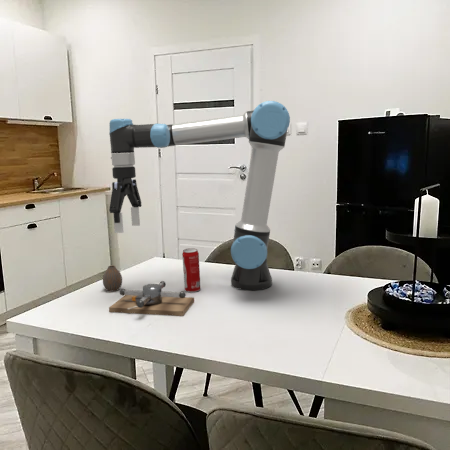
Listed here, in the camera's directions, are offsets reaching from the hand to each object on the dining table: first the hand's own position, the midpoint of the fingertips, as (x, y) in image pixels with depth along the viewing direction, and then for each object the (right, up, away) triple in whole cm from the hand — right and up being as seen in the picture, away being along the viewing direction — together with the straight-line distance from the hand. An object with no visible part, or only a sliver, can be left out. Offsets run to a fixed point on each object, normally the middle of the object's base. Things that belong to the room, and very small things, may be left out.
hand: (127, 228), depth 155 cm
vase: (-8, -22, +10) cm, 26 cm away
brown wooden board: (+10, -25, -9) cm, 28 cm away
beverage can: (+21, -22, +7) cm, 32 cm away
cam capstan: (+10, -23, -9) cm, 27 cm away
